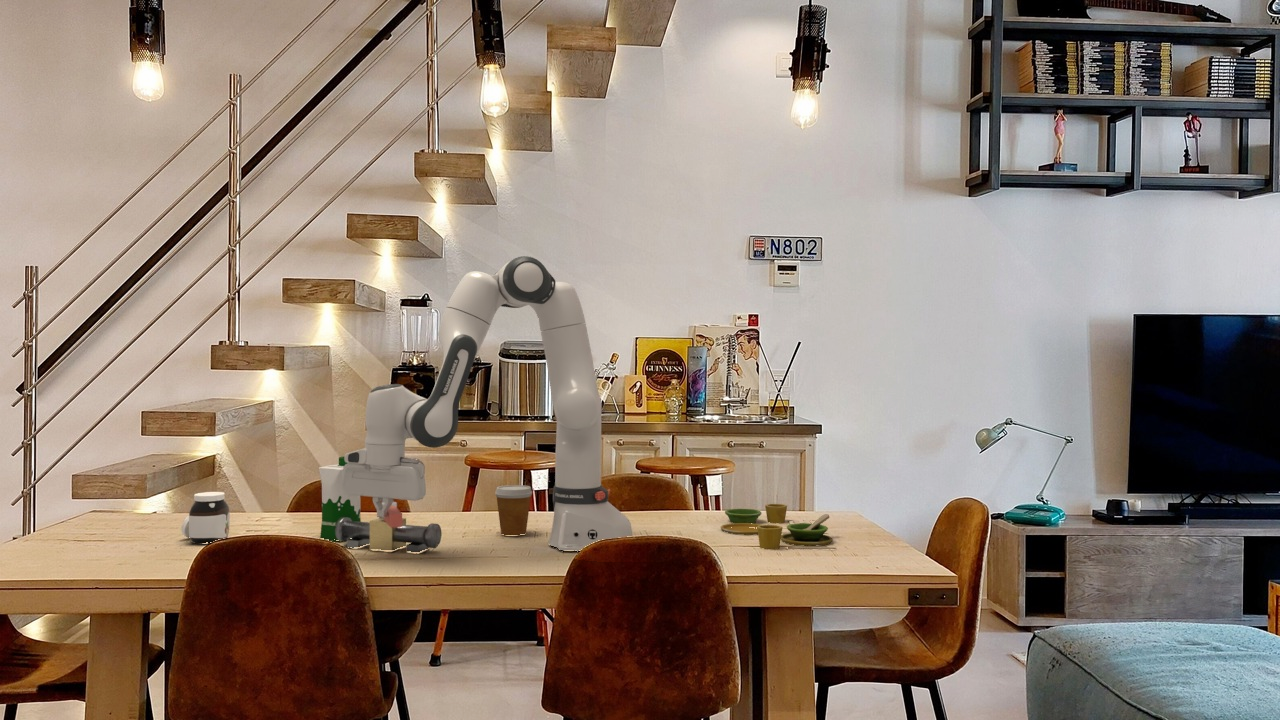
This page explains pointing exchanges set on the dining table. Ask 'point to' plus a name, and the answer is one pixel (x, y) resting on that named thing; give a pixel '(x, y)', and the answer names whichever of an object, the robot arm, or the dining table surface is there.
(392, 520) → the lever
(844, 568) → the dining table surface
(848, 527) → the dining table surface
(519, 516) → the disposable coffee cup
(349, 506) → the soya milk
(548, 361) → the robot arm
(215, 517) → the spread jar
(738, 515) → the tableware set
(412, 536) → the grey pipe with feet
